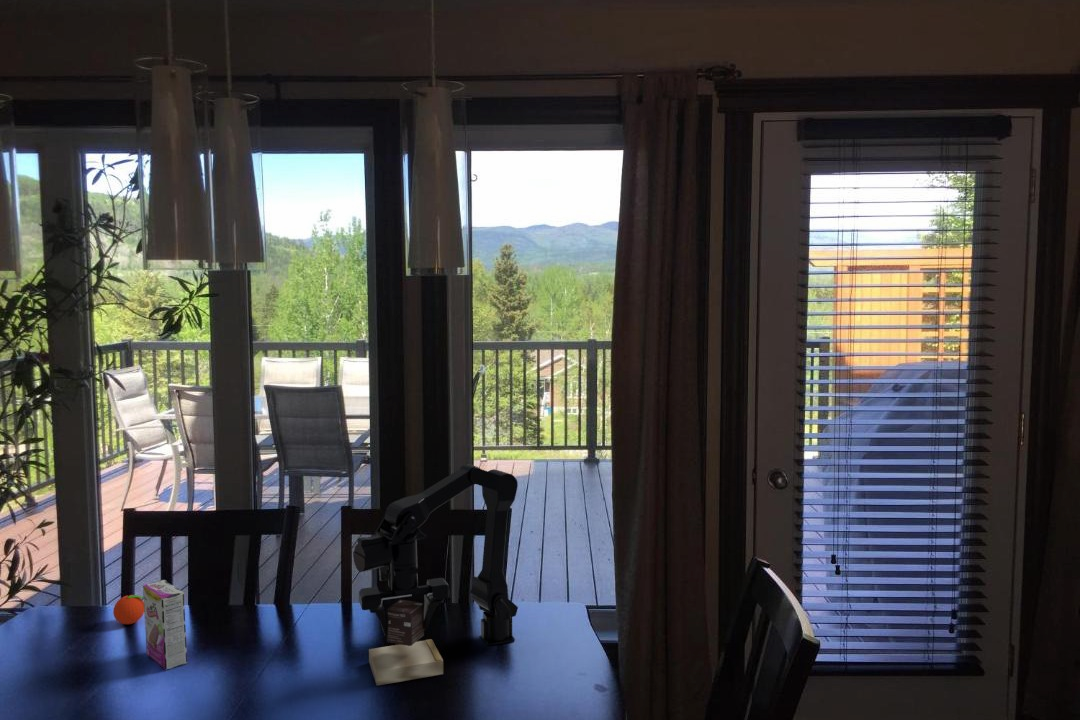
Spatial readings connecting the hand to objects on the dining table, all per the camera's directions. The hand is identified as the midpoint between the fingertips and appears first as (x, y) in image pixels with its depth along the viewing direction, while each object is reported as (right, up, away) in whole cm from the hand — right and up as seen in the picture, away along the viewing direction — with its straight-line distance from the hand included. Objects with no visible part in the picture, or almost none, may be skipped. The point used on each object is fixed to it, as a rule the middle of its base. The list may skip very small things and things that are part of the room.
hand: (405, 632), depth 167 cm
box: (0, -2, 0) cm, 2 cm away
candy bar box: (-54, -8, +5) cm, 55 cm away
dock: (0, -8, +1) cm, 8 cm away
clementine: (-72, -7, +25) cm, 77 cm away
